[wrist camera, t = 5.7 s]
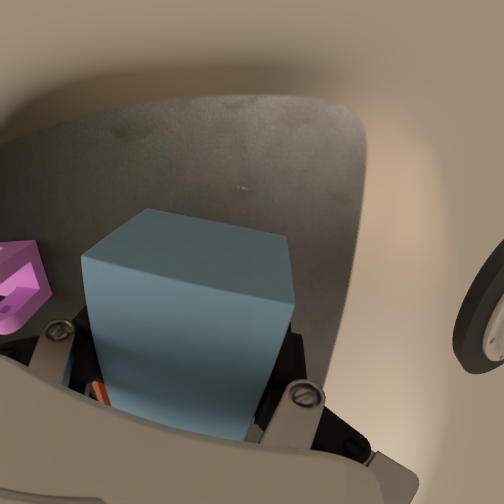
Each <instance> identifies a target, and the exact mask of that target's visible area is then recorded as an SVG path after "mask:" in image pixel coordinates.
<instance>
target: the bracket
mask: <svg viewBox="0 0 504 504" xmlns="http://www.w3.org/2000/svg"><path fill="white" fill-rule="evenodd" d="M0 295H3V296H7V297H6V298H5V299H4V300H2V301H1V302H0V334H2V335H6V334H10V333H13V332H15V331H16V330H18V329H19V328H21V327H22V326H23V325H24V324H25V322H26V321H27V320H28V319H29V318H30V317H31V316H32V315H33V314H34V313H35V312H36V311H37V310H38V309H39V308H40V307H41V306H42V305H43V304H44V303H45V302H46V301H47V300H48V299H49V298H50V297H51V296H52V295H53V294H52V291H51V288H50V285H49V282H48V280H47V277H46V274H45V270H44V267H43V264H42V261H41V257H40V254H39V251H38V247H37V243H36V240H28V241H12V242H0Z"/></svg>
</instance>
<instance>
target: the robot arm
mask: <svg viewBox="0 0 504 504" xmlns="http://www.w3.org/2000/svg"><path fill="white" fill-rule="evenodd" d="M483 351H484V353H485V355H486V356H487V358H488V359H490V360H491V361H499V360H502V359H504V293H503V295H502V297H501V298H500V300H499V301H498V303H497V305H496V307H495V309H494V311H493V313H492V315H491V317H490V319H489V321H488V324H487V327H486V330H485V333H484V337H483ZM94 381H96V382H99V383H101V384H104V380H103V377H102V373H101V369H100V365H99V362H98V358H97V353H96V349H95V345H94V340H93V336H92V331H91V326H90V320H89V315H88V309H87V304H86V305H85V307H84V308H83V309H82V310H81V311H80V312H79V313H78V314H77V316H76V317H75V318H74V319H73V320H72V321H69V320H67V319H54V320H52V321H50V322H48V323H47V324H46V325H45V326H44V328H43V330H42V332H41V334H40V336H35V337H31V338H26V339H21V340H16V341H11V342H7V343H4V344H2V345H0V504H410V503H411V501H412V499H413V497H414V496H415V494H416V492H417V490H418V486H419V480H418V477H417V475H416V474H414V473H413V472H412V471H411V470H409V469H407V468H405V467H404V466H402V465H400V464H399V463H397V462H395V461H394V460H392V459H390V458H389V457H387V456H385V455H384V454H382V453H381V452H379V451H377V452H376V453H375V452H374V451H372V450H371V446H370V443H369V441H368V440H367V439H366V438H365V437H364V436H363V435H362V434H360V433H359V432H358V431H356V430H355V429H354V428H352V427H351V426H350V425H348V424H347V423H346V422H344V421H343V420H342V419H340V418H339V417H338V416H337V415H335V414H334V413H333V412H332V411H330V410H329V409H328V408H327V407H325V406H324V404H325V398H326V397H325V393H324V391H323V390H322V388H321V387H320V386H318V385H317V384H316V383H314V382H312V381H309V380H307V375H306V366H305V356H304V347H303V339H302V335H301V334H295V333H291V321H290V323H289V326H288V329H287V332H286V335H285V337H284V340H283V343H282V346H281V348H280V351H279V354H278V356H277V359H276V362H275V364H274V367H273V370H272V372H271V375H270V377H269V380H268V383H267V385H266V388H265V390H264V393H263V395H262V398H261V400H260V403H259V405H258V408H257V410H256V412H255V415H254V417H255V422H254V424H258V426H259V427H260V428H261V429H262V430H263V431H264V433H263V435H262V437H261V439H260V440H259V442H258V444H255V443H249V442H242V441H236V440H230V439H224V438H219V437H214V436H209V435H204V434H199V433H195V432H191V431H187V430H183V429H179V428H175V427H171V426H168V425H164V424H161V423H157V422H154V421H151V420H148V419H144V418H141V417H138V416H135V415H132V414H130V413H127V412H124V411H121V410H119V409H116V408H113V407H111V406H108V405H106V404H103V403H101V402H98V401H96V400H93V399H91V398H89V394H90V387H91V383H92V382H94Z"/></svg>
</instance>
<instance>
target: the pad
mask: <svg viewBox="0 0 504 504" xmlns="http://www.w3.org/2000/svg"><path fill="white" fill-rule="evenodd" d="M81 263H82V273H83V281H84V289H85V296H86V303H87V309H88V315H89V320H90V326H91V331H92V336H93V340H94V345H95V349H96V353H97V358H98V362H99V365H100V369H101V373H102V377H103V380H104V384H105V387H106V390H107V394H108V397H109V400H110V403H111V406H112V407H113V408H116V409H119V410H121V411H124V412H127V413H130V414H132V415H135V416H138V417H141V418H144V419H148V420H151V421H154V422H157V423H161V424H164V425H168V426H171V427H175V428H179V429H183V430H187V431H191V432H195V433H199V434H204V435H209V436H214V437H219V438H224V439H230V440H236V441H242V442H243V440H244V438H245V436H246V434H247V431H248V429H249V427H250V424H251V422H252V420H253V417H254V415H255V412H256V410H257V408H258V405H259V403H260V400H261V398H262V395H263V393H264V390H265V388H266V385H267V383H268V380H269V377H270V375H271V372H272V370H273V367H274V364H275V362H276V359H277V356H278V354H279V351H280V348H281V346H282V343H283V340H284V337H285V335H286V332H287V329H288V326H289V323H290V320H291V318H292V315H293V312H294V309H295V298H294V289H293V281H292V273H291V265H290V258H289V250H288V243H287V237H286V236H283V235H278V234H274V233H269V232H264V231H260V230H255V229H250V228H245V227H240V226H235V225H230V224H226V223H221V222H216V221H211V220H205V219H200V218H195V217H190V216H185V215H180V214H175V213H169V212H164V211H159V210H153V209H148V208H147V209H145V210H144V211H142V212H141V213H139V214H138V215H136V216H135V217H133V218H132V219H130V220H129V221H128V222H126V223H125V224H123V225H122V226H120V227H119V228H118V229H116V230H115V231H114V232H112V233H111V234H109V235H108V236H107V237H105V238H104V239H103V240H101V241H100V242H99V243H97V244H96V245H95V246H93V247H92V248H91V249H89V250H88V251H87V252H86V253H84V254H83V255H82V256H81Z"/></svg>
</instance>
